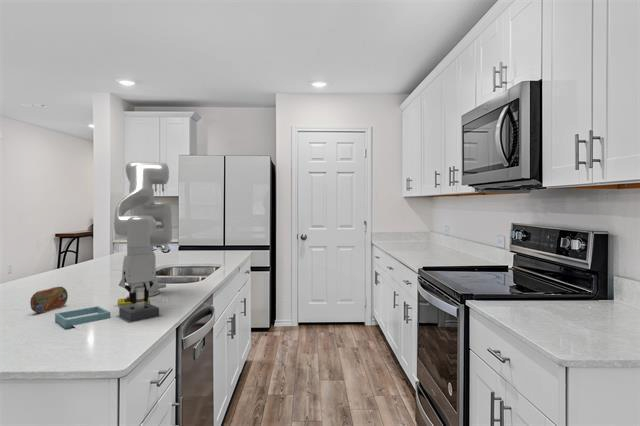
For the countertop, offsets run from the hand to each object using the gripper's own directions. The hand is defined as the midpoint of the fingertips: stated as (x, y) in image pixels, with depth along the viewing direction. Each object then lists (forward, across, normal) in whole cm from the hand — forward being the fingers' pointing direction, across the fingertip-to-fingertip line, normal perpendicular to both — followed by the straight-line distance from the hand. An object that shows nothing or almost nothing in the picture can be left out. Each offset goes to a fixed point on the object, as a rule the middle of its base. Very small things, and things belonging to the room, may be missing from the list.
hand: (139, 301), depth 147 cm
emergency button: (+7, -6, -19) cm, 21 cm away
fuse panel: (+6, 0, 0) cm, 6 cm away
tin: (+7, +19, -37) cm, 42 cm away
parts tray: (+6, +15, -11) cm, 20 cm away
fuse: (+4, 0, 0) cm, 4 cm away
